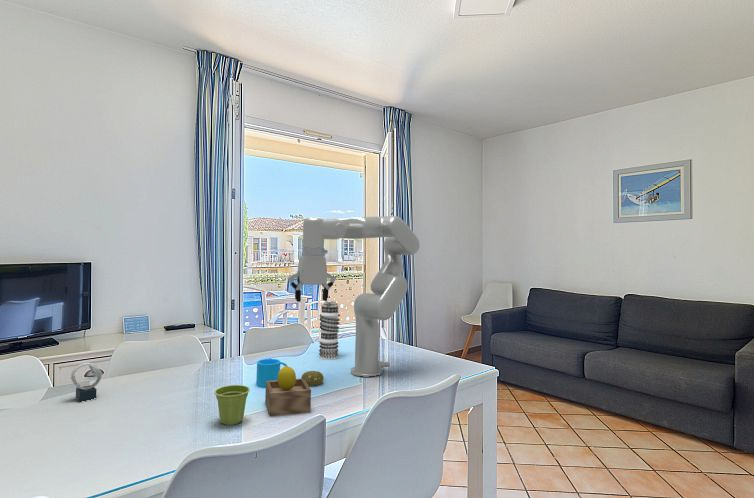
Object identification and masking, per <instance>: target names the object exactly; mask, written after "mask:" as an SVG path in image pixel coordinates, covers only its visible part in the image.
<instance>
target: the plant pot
mask: <svg viewBox="0 0 754 498" xmlns="http://www.w3.org/2000/svg"><path fill="white" fill-rule="evenodd" d="M250 390H251V389H250V387H249V386H246V385H244V384H231V385H225V386H221V387H218V388H216V389H215V390H214V392H213V393H214V395H215V397H216V399H217V406H218V415H219V422H220V424H222V425H223V424H224V425H225V426H232V425H236V424H239V423H240V422H243V421H244V416H245V415H244V414H245V409H246V402H247V397H248V395H249V392H250Z"/></svg>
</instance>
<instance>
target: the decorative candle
mask: <svg viewBox="0 0 754 498" xmlns="http://www.w3.org/2000/svg"><path fill="white" fill-rule="evenodd" d="M339 307H340V305H338V303H337V302H336V301H323V303H322V304H321V311H320V314H319V319H318V320H319V321H320V322H319V329H320V330H319V332H320V340H319V344H320V345H319V349H318V351H319V353H318V355H319V356H318V357H319V359H321V360H324V361H326V360H327V361H333V360H337V359H338V358H339V357H338V355H339V353H338V352H339V349H338V348H339V341H338V340H339V338H338V333H339V332H340V331H339V328H340V327H339V325H340V322H339V321H340V318H339V317H341V314H339Z"/></svg>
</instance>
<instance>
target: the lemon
mask: <svg viewBox="0 0 754 498" xmlns="http://www.w3.org/2000/svg"><path fill="white" fill-rule="evenodd" d="M296 379H297V376H296V371H295V370H294V369H293V368H292V367H291V366H288V365H287V366H283V367H282V368H280V371H279V374H278V384H279V386H280V388H281V389H283V390H285V391H289V390H290V389H292V388H293V387H294V385H295V383H296Z"/></svg>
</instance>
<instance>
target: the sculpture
mask: <svg viewBox="0 0 754 498" xmlns="http://www.w3.org/2000/svg"><path fill="white" fill-rule="evenodd" d="M301 378H304V379H305V381H306V383H307V384H308V386H309V387H312V386H313V387H314V386H318V385H321V384H322V383H323V382H324V375H323V373H322V372H320V371H316V370H310V371H309V370H308V371H305V372H303V374H302V375H301Z"/></svg>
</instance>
